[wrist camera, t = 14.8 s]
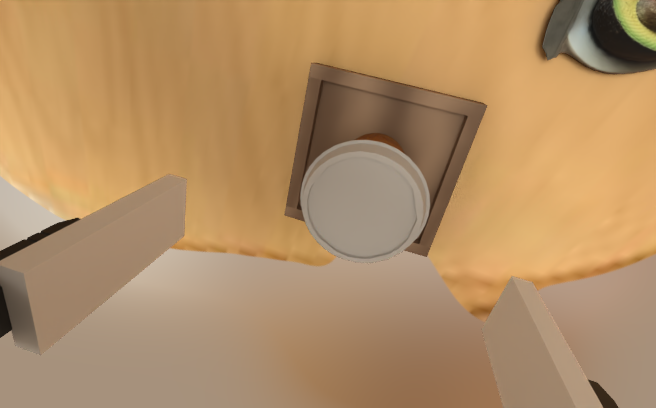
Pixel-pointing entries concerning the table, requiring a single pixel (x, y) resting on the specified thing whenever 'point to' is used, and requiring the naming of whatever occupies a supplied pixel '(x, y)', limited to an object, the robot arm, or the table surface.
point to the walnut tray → (387, 132)
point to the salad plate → (604, 34)
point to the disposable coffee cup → (365, 199)
